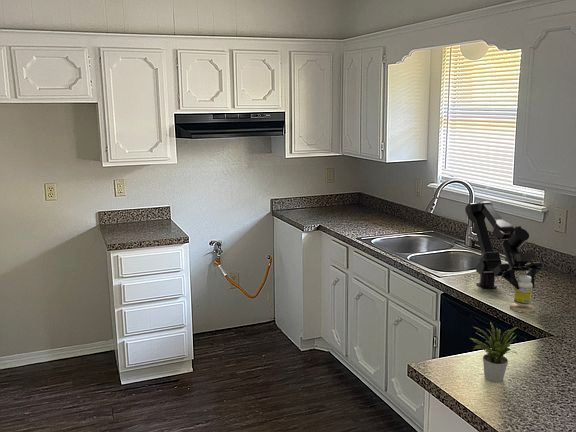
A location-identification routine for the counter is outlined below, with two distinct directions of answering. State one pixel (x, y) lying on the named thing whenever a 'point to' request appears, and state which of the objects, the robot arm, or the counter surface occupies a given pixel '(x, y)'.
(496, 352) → the house plant
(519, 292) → the pill bottle
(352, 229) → the counter surface
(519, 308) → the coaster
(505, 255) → the robot arm
